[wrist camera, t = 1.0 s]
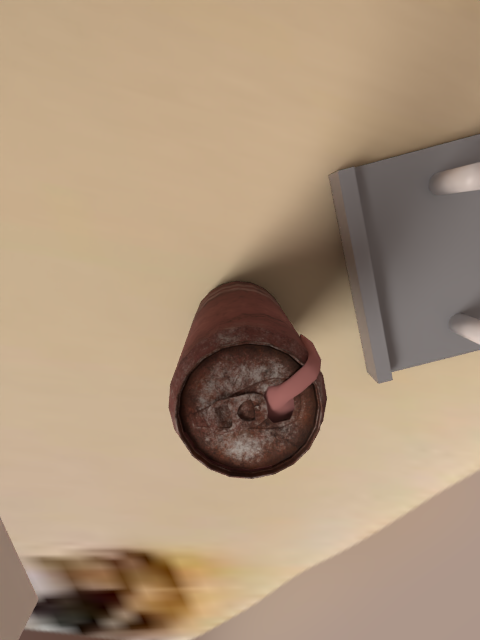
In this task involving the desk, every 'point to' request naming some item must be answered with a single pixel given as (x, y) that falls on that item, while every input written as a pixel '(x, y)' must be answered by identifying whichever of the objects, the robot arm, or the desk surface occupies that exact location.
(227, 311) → the can
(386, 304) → the tray
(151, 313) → the desk surface
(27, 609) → the robot arm
